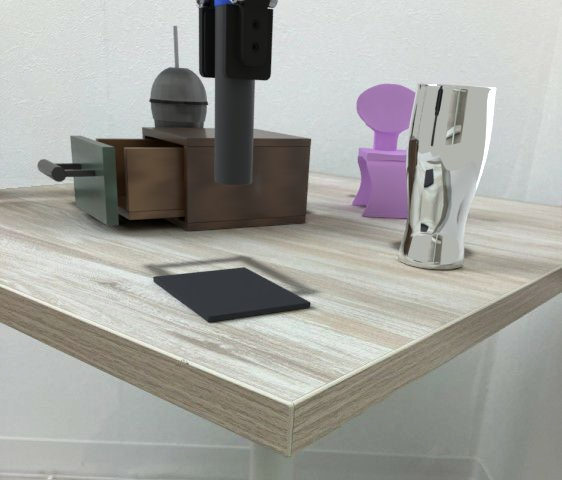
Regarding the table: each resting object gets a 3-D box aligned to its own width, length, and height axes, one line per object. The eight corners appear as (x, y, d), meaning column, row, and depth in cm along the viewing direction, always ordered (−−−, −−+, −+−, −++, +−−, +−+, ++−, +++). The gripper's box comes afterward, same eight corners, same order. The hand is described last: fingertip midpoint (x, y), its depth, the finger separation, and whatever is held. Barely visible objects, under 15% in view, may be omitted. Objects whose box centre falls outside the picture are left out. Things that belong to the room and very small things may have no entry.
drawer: (62, 228, 61) (55, 147, 58) (36, 207, 69) (28, 135, 66) (230, 218, 69) (232, 146, 66) (188, 200, 78) (187, 136, 75)
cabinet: (187, 231, 67) (186, 137, 63) (144, 209, 76) (141, 127, 72) (305, 222, 74) (311, 138, 70) (252, 203, 83) (255, 128, 80)
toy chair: (354, 216, 79) (367, 82, 72) (344, 204, 87) (355, 81, 80) (421, 219, 79) (439, 86, 73) (404, 206, 87) (420, 85, 81)
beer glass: (467, 256, 63) (496, 87, 56) (469, 274, 56) (502, 87, 50) (395, 249, 64) (415, 83, 58) (389, 266, 58) (412, 82, 51)
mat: (153, 281, 50) (153, 276, 50) (244, 271, 54) (244, 267, 53) (208, 322, 42) (208, 316, 42) (310, 307, 46) (310, 302, 46)
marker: (207, 180, 45) (207, -30, 40) (241, 179, 46) (245, -25, 41) (224, 185, 43) (226, -35, 38) (259, 184, 44) (266, -29, 39)
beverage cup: (159, 202, 80) (155, 21, 72) (146, 193, 86) (140, 24, 78) (215, 201, 83) (216, 26, 75) (198, 192, 89) (198, 29, 81)
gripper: (121, -265, 39) (135, 74, 46) (251, -421, 26) (241, 78, 34) (233, -229, 42) (229, 79, 50) (393, -352, 30) (355, 85, 37)
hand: (234, 76), depth 42 cm, fingers closed on marker, 2 cm apart
